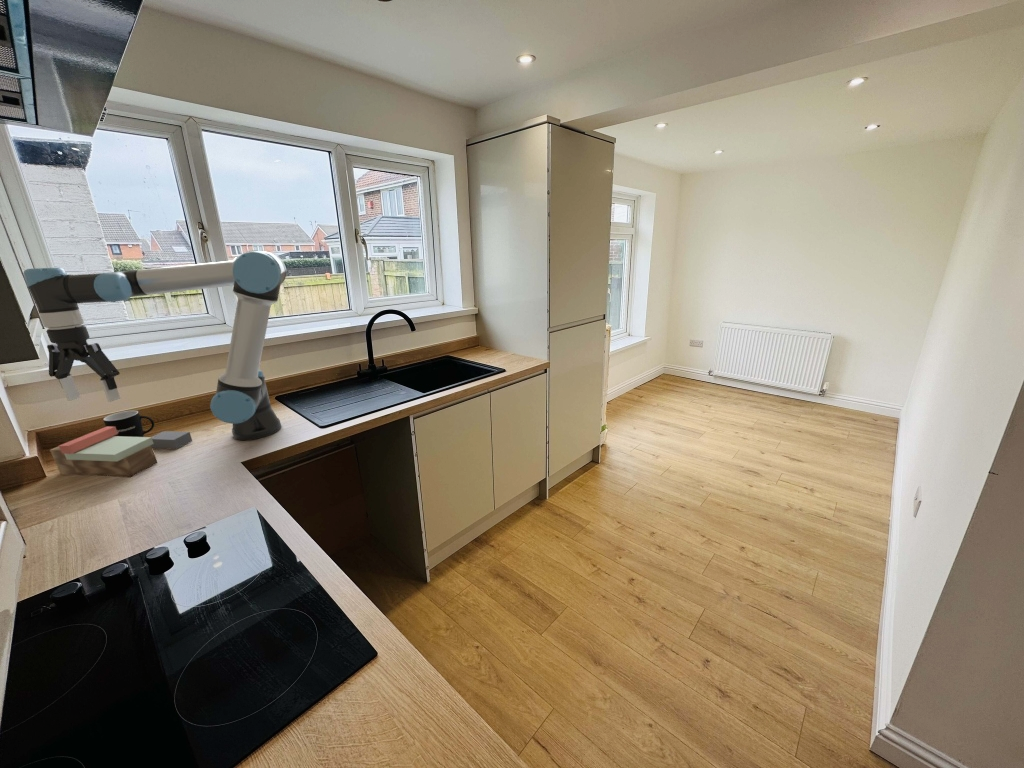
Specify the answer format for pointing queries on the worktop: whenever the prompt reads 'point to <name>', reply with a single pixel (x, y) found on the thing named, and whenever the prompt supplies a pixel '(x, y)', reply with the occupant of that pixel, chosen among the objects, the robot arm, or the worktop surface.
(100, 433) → the red rectangular bar
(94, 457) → the lid
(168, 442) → the lid rest
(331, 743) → the worktop surface
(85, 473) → the toolbox
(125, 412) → the mug
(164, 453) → the worktop surface
